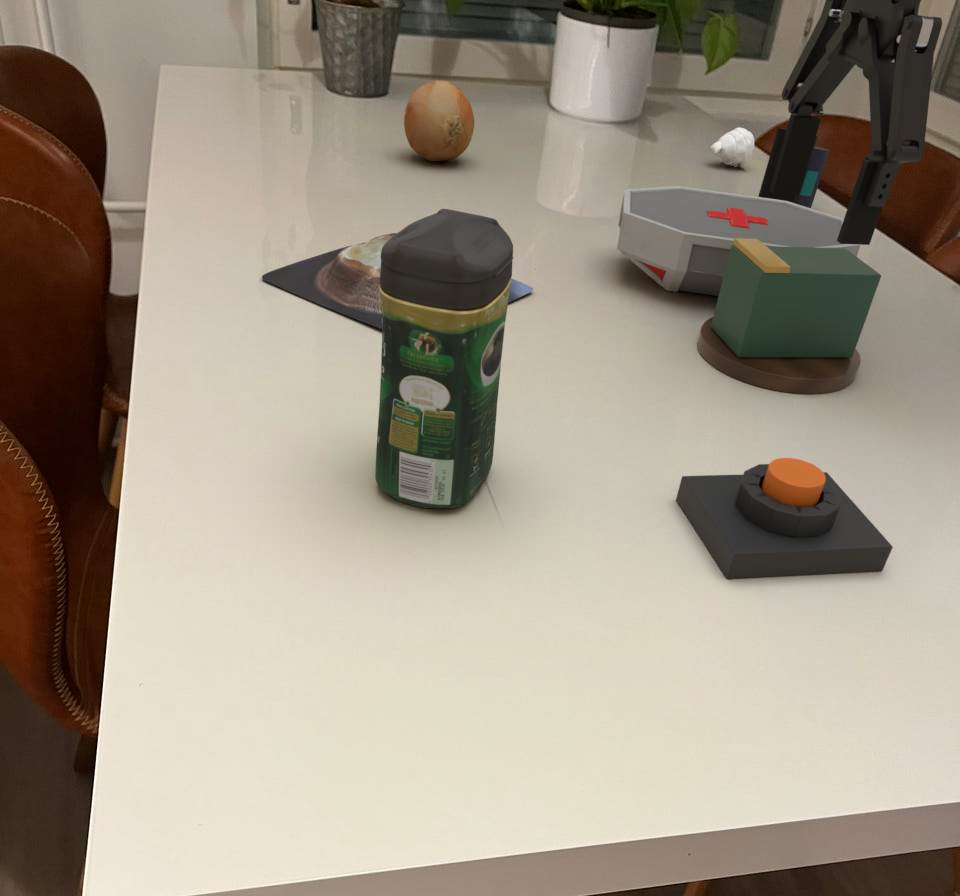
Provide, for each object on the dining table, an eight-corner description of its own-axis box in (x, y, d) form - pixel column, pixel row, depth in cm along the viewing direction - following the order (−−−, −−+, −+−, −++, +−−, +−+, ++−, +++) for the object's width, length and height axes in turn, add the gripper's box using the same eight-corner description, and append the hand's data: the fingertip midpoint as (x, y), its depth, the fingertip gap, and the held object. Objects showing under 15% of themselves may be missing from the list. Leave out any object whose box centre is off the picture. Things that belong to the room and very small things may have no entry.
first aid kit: (609, 297, 105) (843, 330, 104) (623, 225, 100) (867, 259, 100) (613, 244, 119) (819, 273, 118) (624, 178, 114) (840, 208, 113)
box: (818, 327, 100) (847, 241, 95) (852, 358, 95) (884, 268, 89) (709, 326, 98) (732, 237, 92) (738, 358, 92) (764, 266, 87)
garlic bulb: (699, 161, 153) (707, 123, 149) (730, 161, 155) (739, 123, 152) (718, 172, 149) (727, 133, 146) (750, 171, 151) (760, 132, 148)
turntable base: (811, 325, 105) (815, 312, 104) (885, 393, 93) (891, 378, 92) (674, 324, 101) (678, 310, 100) (734, 394, 90) (738, 379, 89)
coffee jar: (406, 438, 78) (419, 191, 66) (501, 462, 76) (532, 214, 65) (357, 497, 71) (361, 232, 59) (461, 524, 69) (487, 258, 57)
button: (802, 477, 72) (810, 456, 71) (828, 507, 69) (836, 486, 68) (752, 479, 71) (759, 457, 70) (776, 509, 68) (783, 487, 67)
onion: (430, 174, 134) (435, 92, 128) (388, 154, 140) (391, 74, 133) (485, 167, 139) (492, 88, 133) (442, 148, 145) (447, 71, 138)
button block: (817, 496, 77) (834, 451, 75) (882, 572, 70) (902, 525, 67) (675, 500, 75) (687, 454, 72) (726, 580, 67) (741, 531, 65)
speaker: (789, 221, 132) (813, 136, 126) (752, 211, 135) (775, 127, 129) (816, 219, 137) (841, 136, 131) (781, 209, 140) (804, 128, 134)
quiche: (536, 292, 104) (541, 254, 102) (411, 345, 91) (413, 303, 89) (388, 238, 113) (389, 201, 110) (256, 279, 100) (253, 239, 97)
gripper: (791, -95, 83) (724, 172, 97) (955, -57, 65) (845, 266, 79) (869, -85, 85) (793, 176, 98) (1051, -46, 67) (927, 268, 80)
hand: (816, 216), depth 89 cm, fingers open, 13 cm apart
